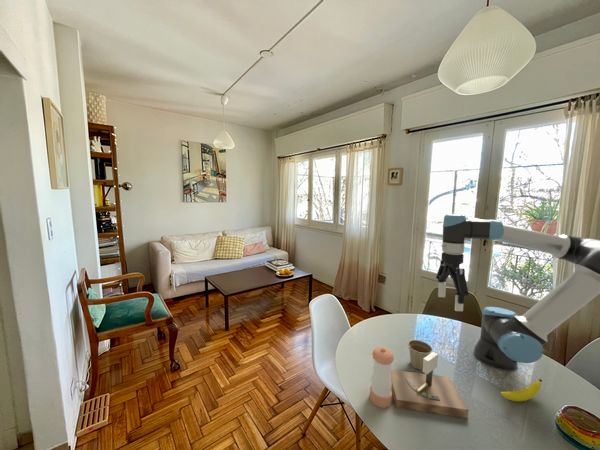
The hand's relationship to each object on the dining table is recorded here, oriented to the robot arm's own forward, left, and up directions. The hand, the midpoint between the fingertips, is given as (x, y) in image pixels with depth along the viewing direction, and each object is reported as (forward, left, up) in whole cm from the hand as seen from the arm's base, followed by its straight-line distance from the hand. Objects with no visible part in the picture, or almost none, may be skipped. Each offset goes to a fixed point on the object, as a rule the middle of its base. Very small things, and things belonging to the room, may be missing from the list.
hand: (449, 303), depth 102 cm
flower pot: (+10, +1, -28) cm, 30 cm away
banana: (-20, +14, -28) cm, 37 cm away
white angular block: (+13, +18, -25) cm, 33 cm away
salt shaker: (+29, +23, -28) cm, 47 cm away
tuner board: (+13, +18, -28) cm, 36 cm away
